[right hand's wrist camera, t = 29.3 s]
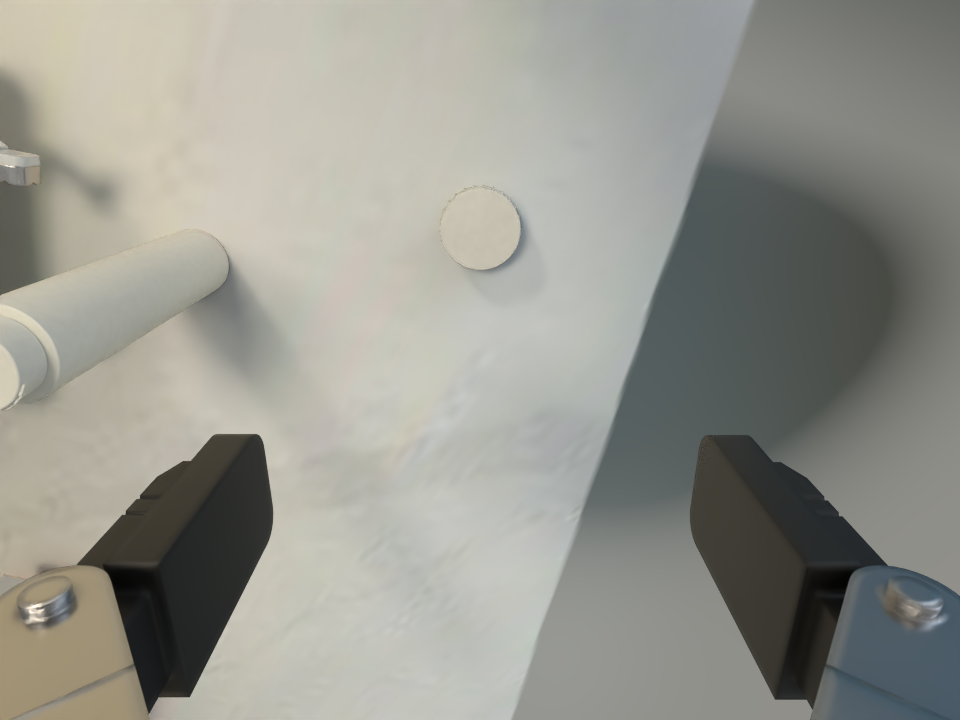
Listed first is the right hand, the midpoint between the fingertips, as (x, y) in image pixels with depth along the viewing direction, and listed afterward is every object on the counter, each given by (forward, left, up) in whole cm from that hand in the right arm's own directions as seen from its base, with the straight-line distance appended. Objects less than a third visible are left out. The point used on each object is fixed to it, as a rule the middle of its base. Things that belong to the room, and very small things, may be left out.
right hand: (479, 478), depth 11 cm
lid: (0, 0, -28) cm, 28 cm away
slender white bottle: (-9, -16, -30) cm, 35 cm away
